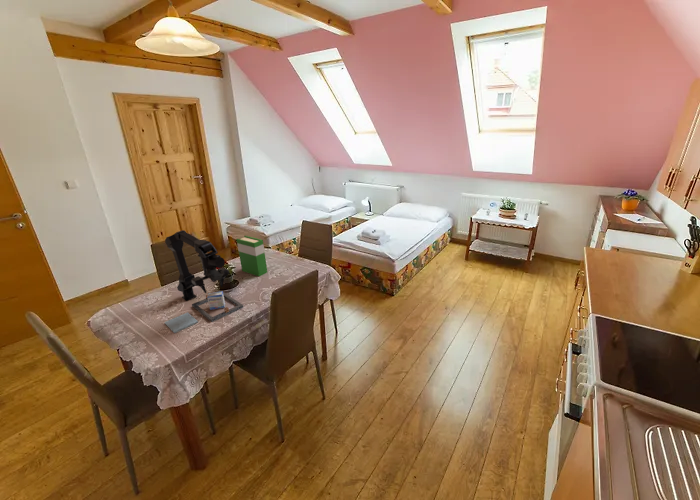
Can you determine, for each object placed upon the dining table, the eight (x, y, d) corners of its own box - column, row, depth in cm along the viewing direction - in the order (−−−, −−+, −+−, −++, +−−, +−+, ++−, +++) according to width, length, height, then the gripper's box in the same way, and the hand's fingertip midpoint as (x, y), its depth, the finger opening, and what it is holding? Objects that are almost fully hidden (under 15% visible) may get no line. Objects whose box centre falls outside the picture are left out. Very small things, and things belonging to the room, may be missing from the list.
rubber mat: (164, 323, 167) (164, 322, 167) (188, 313, 175) (187, 312, 175) (174, 333, 159) (174, 331, 159) (198, 322, 167) (197, 321, 167)
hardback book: (242, 270, 224) (236, 239, 215) (250, 266, 229) (245, 235, 220) (259, 276, 215) (254, 243, 206) (267, 272, 220) (262, 239, 211)
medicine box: (209, 310, 178) (206, 296, 174) (210, 306, 182) (207, 292, 178) (224, 307, 179) (222, 294, 176) (225, 303, 183) (222, 290, 180)
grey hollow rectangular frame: (192, 306, 182) (190, 301, 181) (222, 293, 194) (221, 288, 193) (211, 322, 167) (210, 316, 165) (243, 307, 179) (242, 301, 178)
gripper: (197, 274, 159) (203, 301, 165) (231, 262, 172) (236, 288, 178) (188, 268, 166) (194, 294, 172) (221, 257, 179) (226, 282, 185)
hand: (213, 290), depth 176 cm, fingers open, 9 cm apart
